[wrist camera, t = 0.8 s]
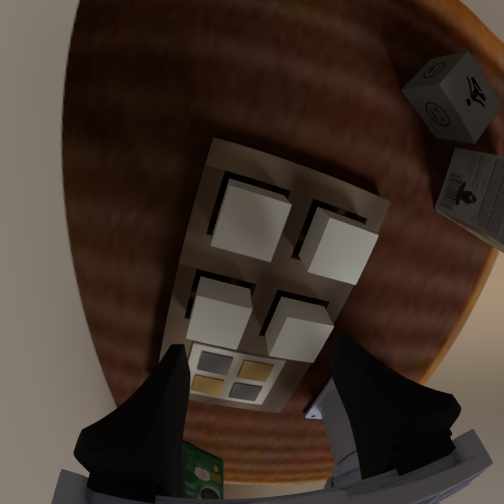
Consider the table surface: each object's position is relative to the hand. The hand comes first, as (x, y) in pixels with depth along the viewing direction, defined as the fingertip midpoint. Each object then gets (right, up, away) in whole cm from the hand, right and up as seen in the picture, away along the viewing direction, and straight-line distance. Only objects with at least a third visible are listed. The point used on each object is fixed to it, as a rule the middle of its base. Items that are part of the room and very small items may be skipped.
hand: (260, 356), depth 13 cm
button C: (+5, +6, +6) cm, 10 cm away
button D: (-1, +7, +5) cm, 9 cm away
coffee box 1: (-8, -23, +19) cm, 31 cm away
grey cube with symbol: (+14, +18, +5) cm, 23 cm away
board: (0, +1, +10) cm, 10 cm away
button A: (+3, 0, +9) cm, 9 cm away
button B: (-3, +1, +8) cm, 8 cm away
